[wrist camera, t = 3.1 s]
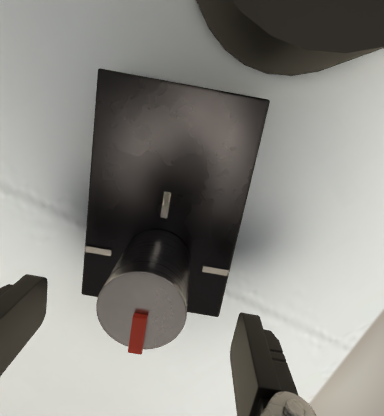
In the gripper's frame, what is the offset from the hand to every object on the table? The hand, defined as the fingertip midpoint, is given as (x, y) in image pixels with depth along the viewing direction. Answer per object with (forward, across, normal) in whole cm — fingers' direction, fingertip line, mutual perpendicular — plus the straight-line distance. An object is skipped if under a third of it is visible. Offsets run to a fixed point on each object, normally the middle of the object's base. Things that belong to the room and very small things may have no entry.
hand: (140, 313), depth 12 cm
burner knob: (+4, 0, 0) cm, 4 cm away
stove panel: (+7, 0, -3) cm, 8 cm away
